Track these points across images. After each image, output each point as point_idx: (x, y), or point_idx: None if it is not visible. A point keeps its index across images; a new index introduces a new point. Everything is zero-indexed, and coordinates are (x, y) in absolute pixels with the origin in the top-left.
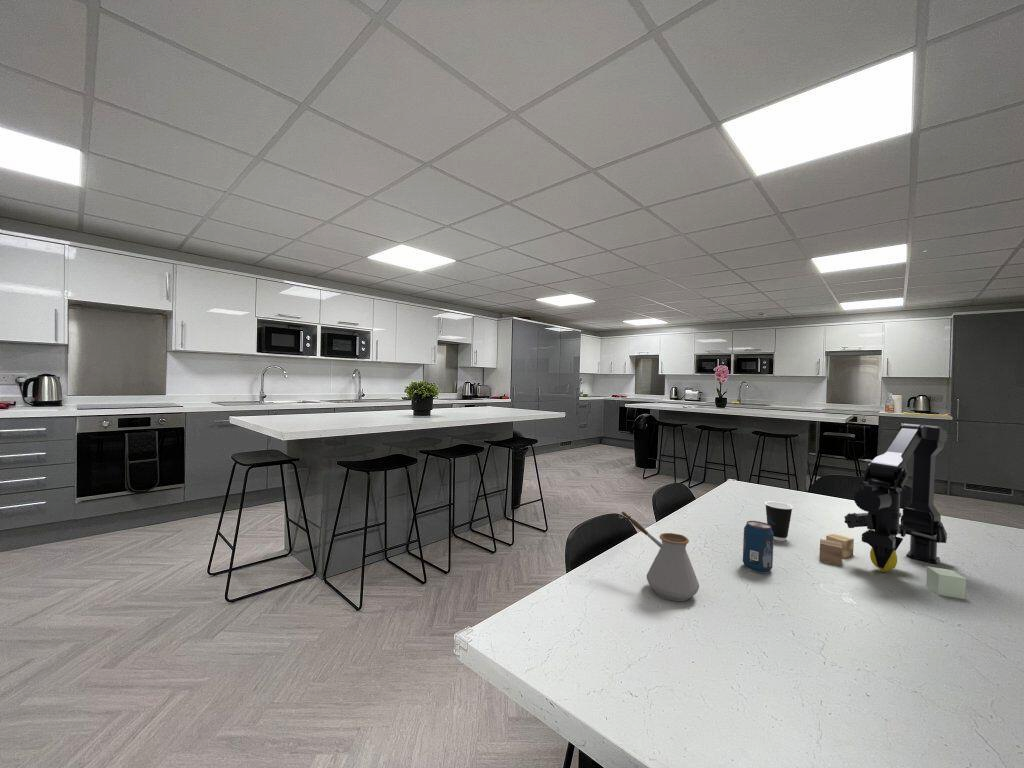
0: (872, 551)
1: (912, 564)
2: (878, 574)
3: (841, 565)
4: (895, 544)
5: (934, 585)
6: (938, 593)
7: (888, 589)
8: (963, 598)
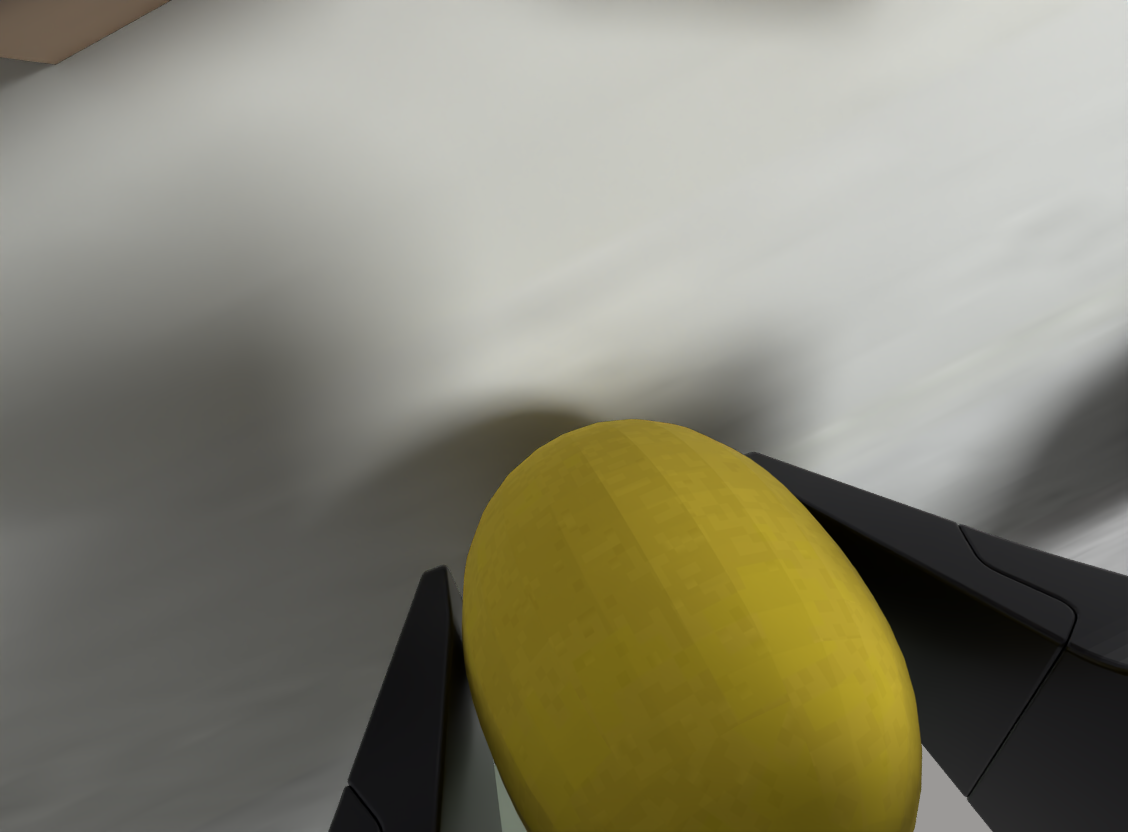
0: (542, 660)
1: (1037, 410)
2: (412, 504)
3: (48, 59)
4: (1016, 823)
5: (510, 817)
6: None
7: (18, 782)
8: None
